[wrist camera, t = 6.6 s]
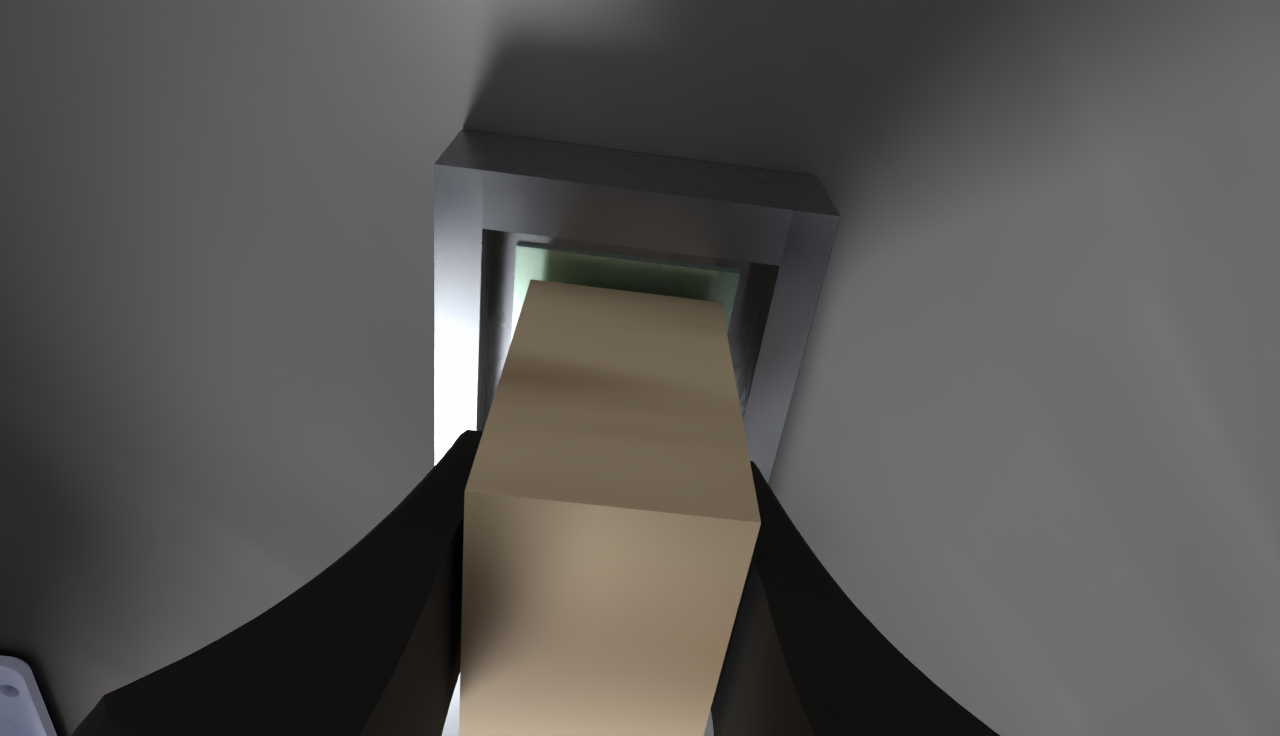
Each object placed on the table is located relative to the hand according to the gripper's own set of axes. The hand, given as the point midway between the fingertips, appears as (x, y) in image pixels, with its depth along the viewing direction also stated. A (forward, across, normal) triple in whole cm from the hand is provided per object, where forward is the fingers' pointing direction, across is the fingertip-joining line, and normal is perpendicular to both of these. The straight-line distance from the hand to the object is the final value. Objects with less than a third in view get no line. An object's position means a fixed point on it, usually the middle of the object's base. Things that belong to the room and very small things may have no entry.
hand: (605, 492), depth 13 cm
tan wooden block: (+3, 0, 0) cm, 3 cm away
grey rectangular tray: (+4, 0, +4) cm, 6 cm away
